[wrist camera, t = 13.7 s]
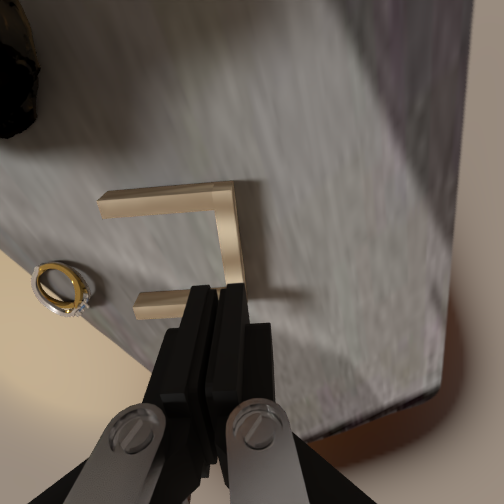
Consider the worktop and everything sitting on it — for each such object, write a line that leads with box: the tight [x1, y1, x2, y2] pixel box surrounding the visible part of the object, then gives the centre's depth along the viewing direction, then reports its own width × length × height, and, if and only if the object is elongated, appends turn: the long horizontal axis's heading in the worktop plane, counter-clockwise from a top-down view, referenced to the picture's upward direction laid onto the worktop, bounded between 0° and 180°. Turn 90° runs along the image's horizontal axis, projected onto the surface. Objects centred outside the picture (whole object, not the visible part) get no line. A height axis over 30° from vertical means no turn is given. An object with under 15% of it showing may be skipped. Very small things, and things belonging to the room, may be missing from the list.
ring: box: [31, 262, 91, 317], centre depth 43 cm, size 7×3×8 cm
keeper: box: [97, 181, 248, 320], centre depth 38 cm, size 18×14×8 cm
